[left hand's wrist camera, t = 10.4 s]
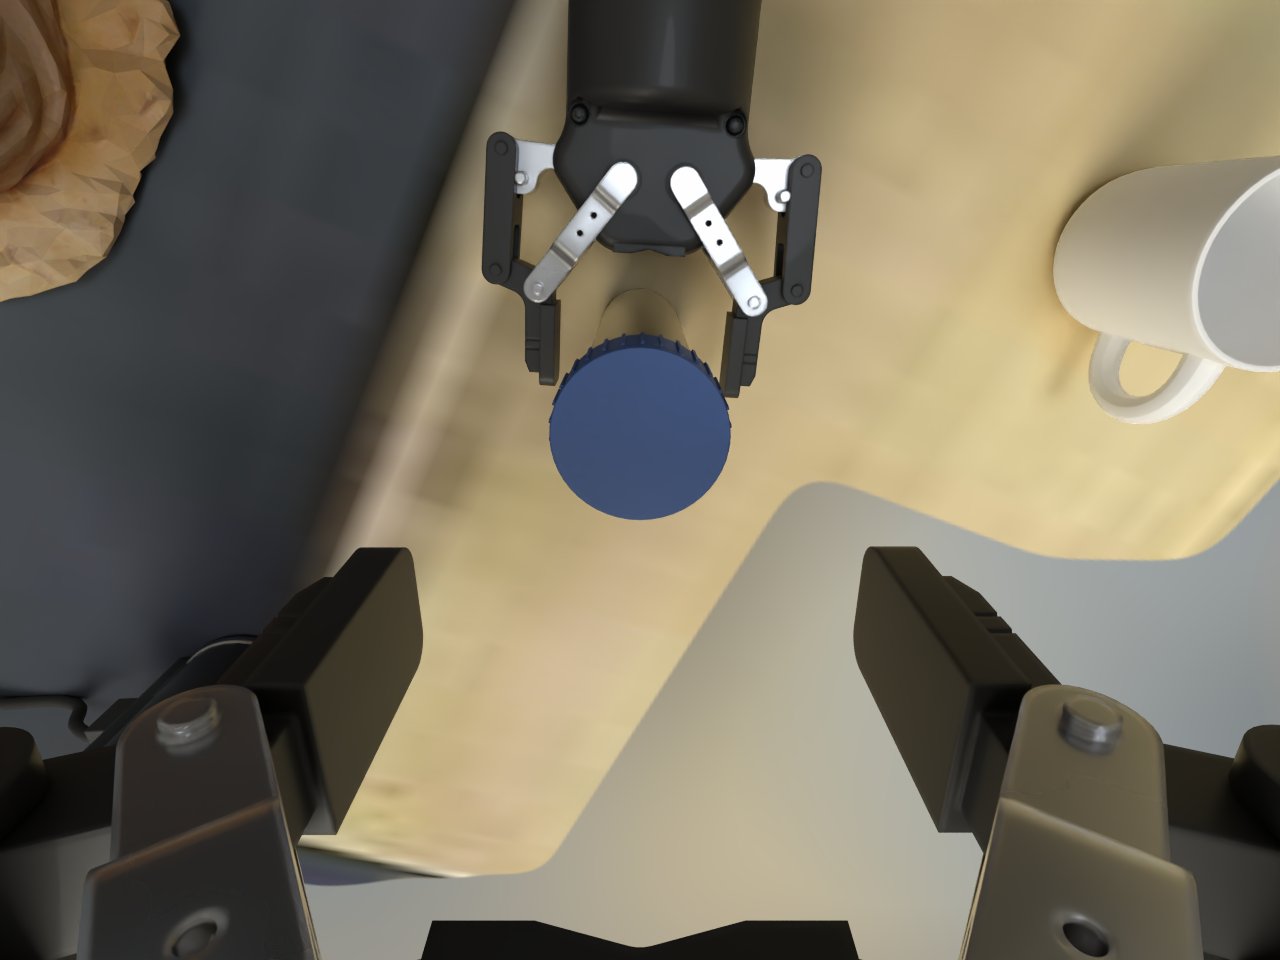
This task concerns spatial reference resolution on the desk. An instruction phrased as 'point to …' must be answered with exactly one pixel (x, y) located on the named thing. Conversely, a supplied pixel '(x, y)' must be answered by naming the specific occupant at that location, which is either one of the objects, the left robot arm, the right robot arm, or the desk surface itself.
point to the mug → (1176, 277)
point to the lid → (640, 427)
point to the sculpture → (75, 129)
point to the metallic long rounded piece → (639, 317)
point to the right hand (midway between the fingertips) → (639, 388)
